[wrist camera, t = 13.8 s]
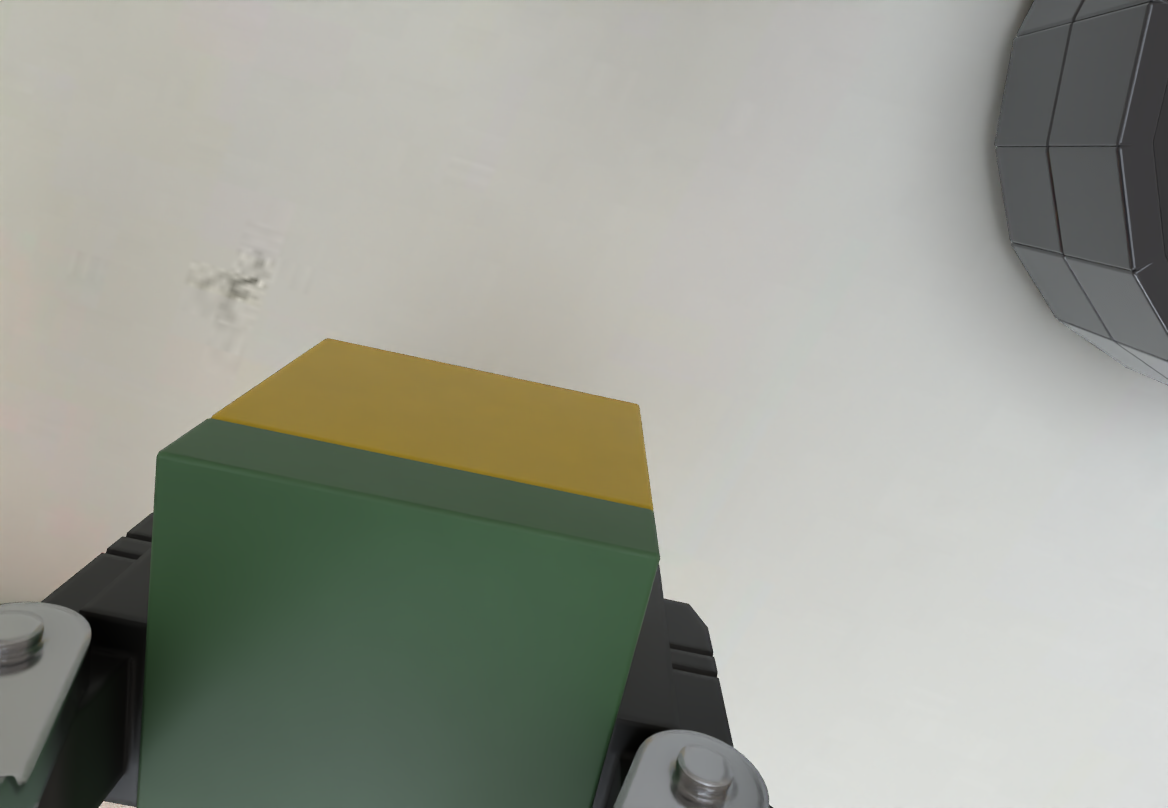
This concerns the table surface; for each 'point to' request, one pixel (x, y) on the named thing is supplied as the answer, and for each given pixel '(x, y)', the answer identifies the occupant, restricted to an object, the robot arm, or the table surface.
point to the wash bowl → (1092, 170)
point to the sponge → (393, 590)
